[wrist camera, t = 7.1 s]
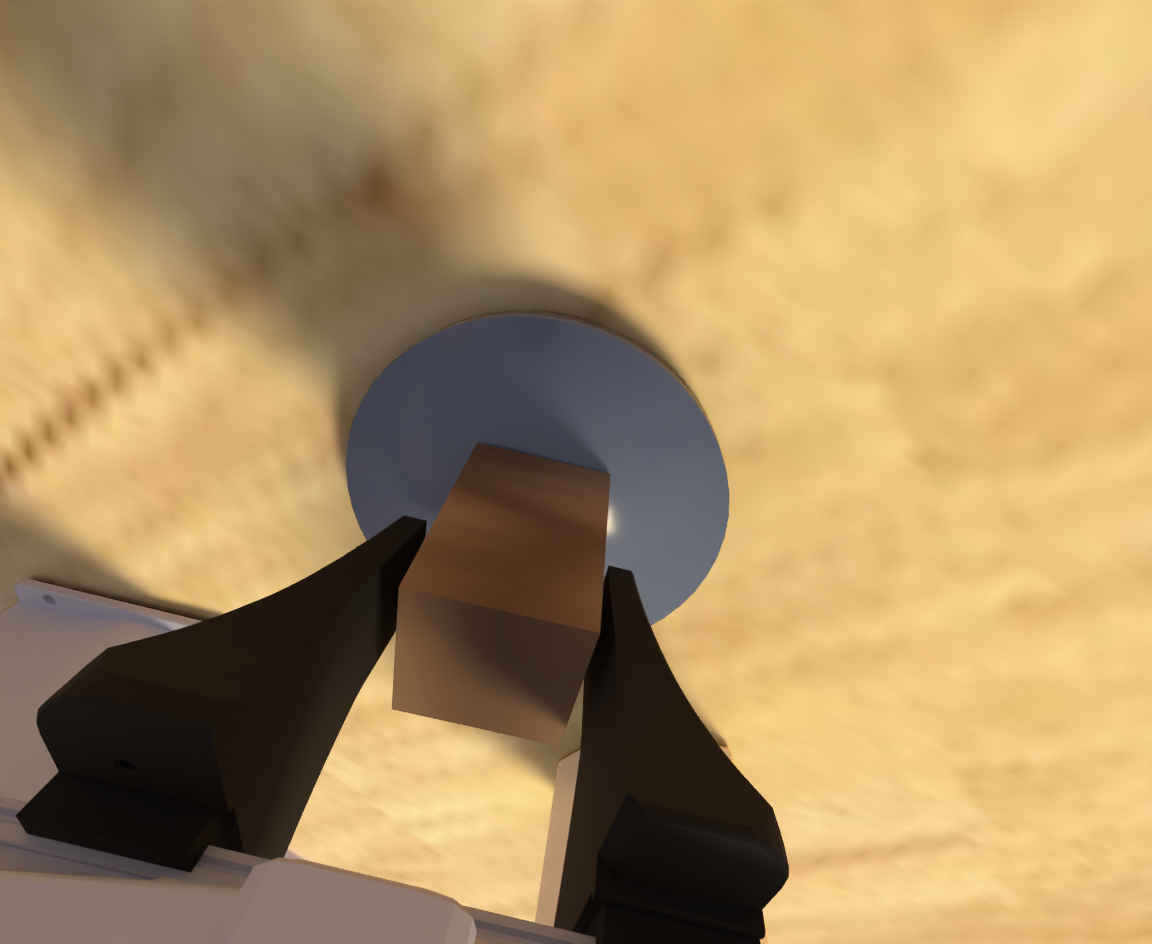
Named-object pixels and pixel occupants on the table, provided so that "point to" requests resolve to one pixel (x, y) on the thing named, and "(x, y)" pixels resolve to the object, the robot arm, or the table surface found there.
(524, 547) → the walnut block
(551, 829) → the jar
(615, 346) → the blue-grey round disc
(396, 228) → the table surface
